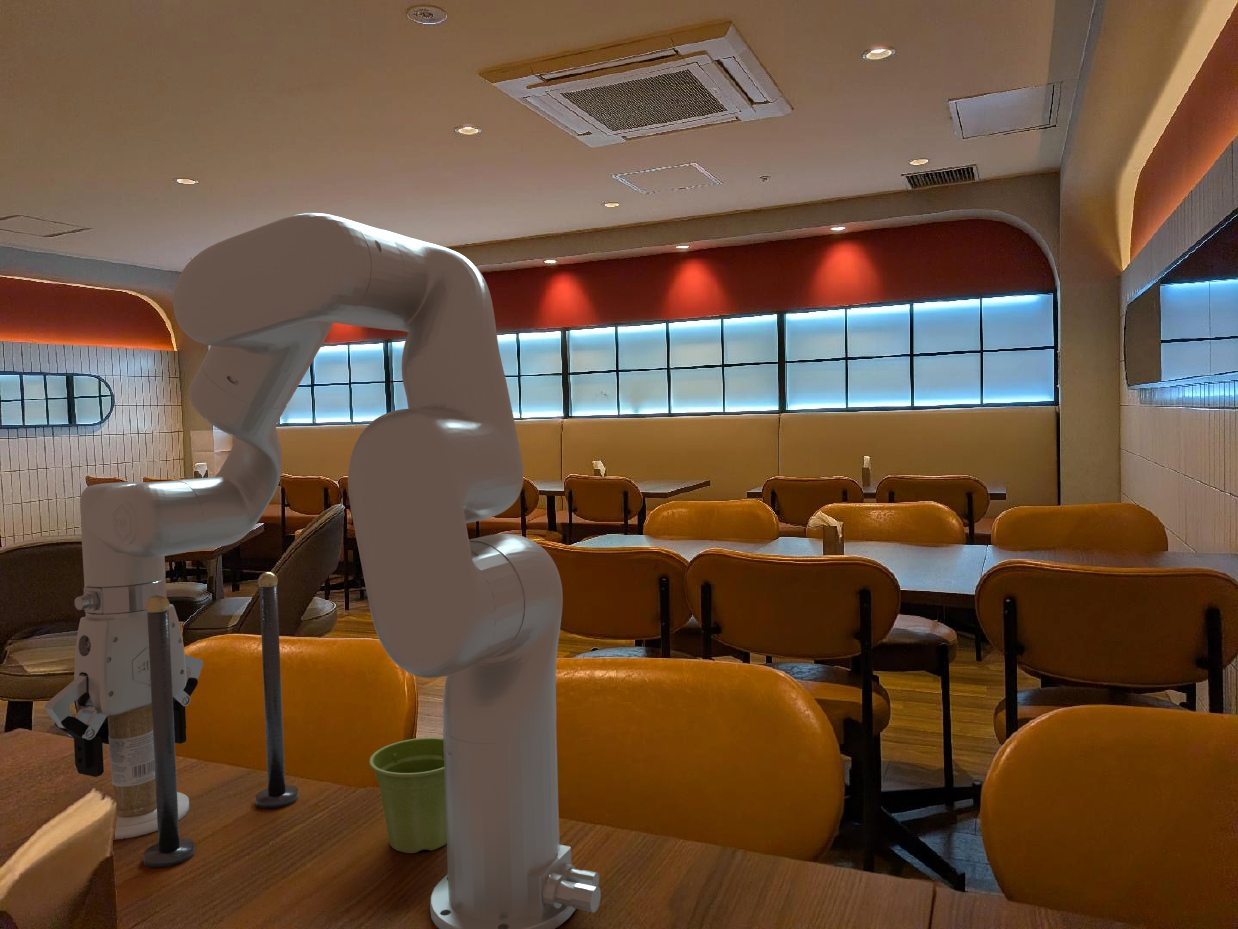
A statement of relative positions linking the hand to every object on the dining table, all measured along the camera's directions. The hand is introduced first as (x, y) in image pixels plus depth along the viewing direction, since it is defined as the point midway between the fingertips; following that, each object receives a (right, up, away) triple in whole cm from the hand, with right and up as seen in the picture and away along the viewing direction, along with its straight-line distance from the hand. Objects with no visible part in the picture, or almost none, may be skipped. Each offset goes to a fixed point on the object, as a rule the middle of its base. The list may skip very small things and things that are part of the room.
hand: (134, 757), depth 92 cm
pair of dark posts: (+11, -6, -2) cm, 13 cm away
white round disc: (0, -7, 0) cm, 7 cm away
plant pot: (+32, -6, -6) cm, 33 cm away
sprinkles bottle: (0, -6, 0) cm, 6 cm away
